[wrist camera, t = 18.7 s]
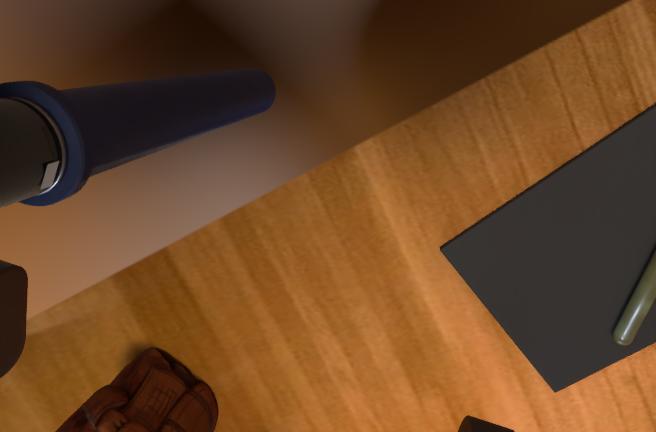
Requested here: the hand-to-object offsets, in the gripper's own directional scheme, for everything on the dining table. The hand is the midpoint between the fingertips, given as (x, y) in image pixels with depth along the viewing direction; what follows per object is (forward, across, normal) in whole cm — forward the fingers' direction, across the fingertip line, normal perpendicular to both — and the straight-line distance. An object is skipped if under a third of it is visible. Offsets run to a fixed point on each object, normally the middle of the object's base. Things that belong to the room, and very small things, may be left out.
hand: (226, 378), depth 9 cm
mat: (+34, -21, +3) cm, 40 cm away
